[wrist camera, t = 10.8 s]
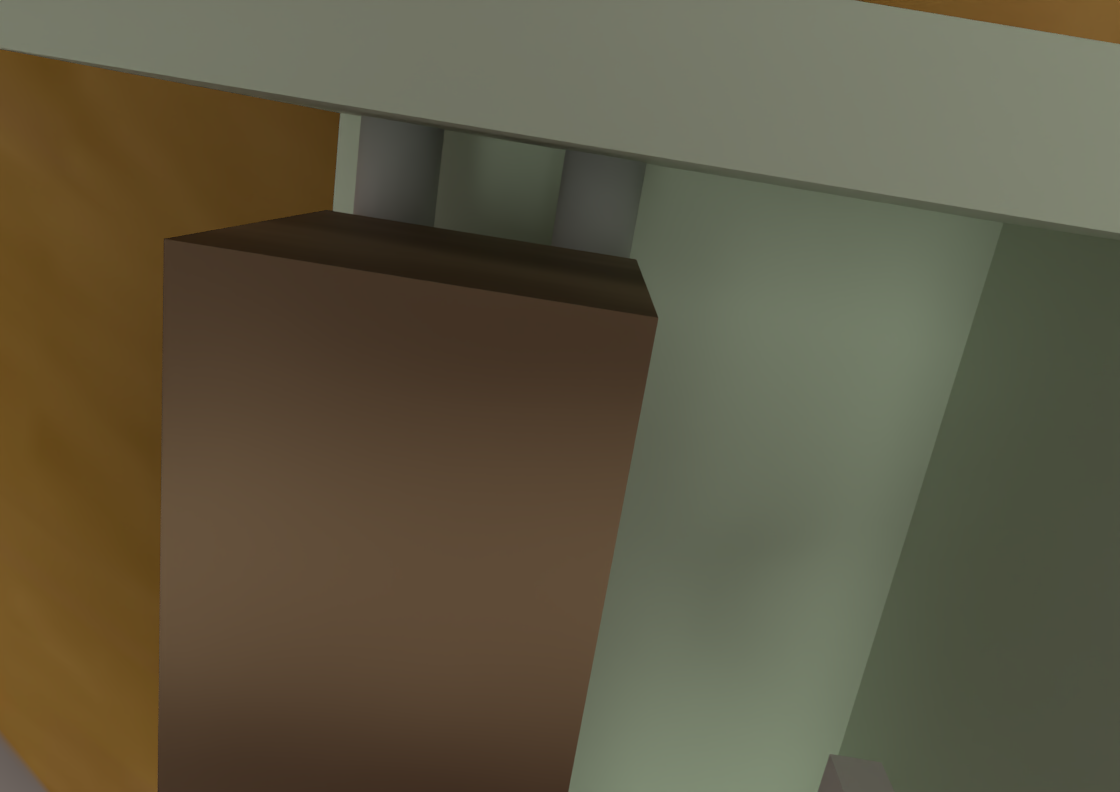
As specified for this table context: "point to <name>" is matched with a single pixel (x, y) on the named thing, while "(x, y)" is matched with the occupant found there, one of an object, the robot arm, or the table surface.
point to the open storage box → (775, 345)
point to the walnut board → (387, 503)
